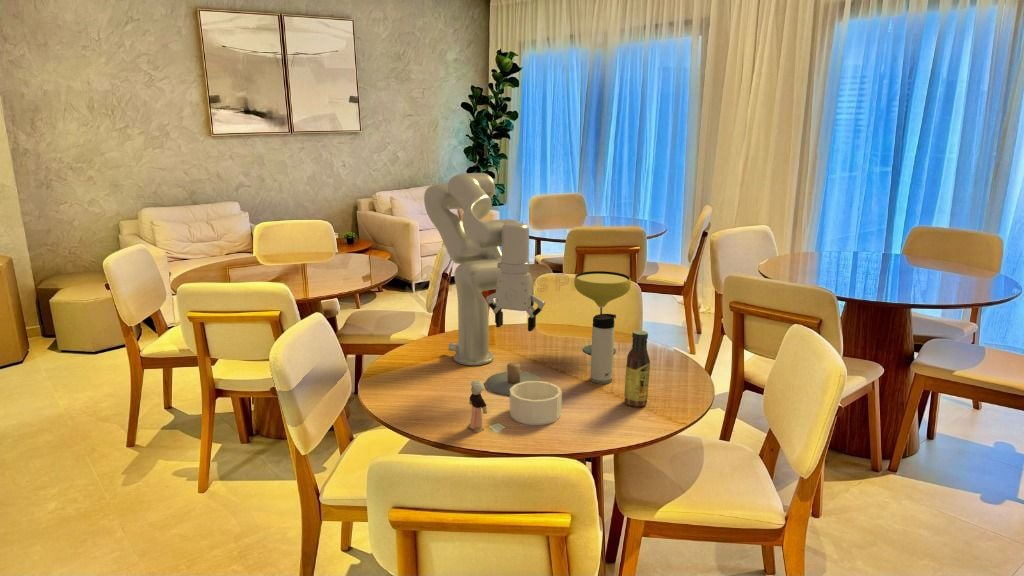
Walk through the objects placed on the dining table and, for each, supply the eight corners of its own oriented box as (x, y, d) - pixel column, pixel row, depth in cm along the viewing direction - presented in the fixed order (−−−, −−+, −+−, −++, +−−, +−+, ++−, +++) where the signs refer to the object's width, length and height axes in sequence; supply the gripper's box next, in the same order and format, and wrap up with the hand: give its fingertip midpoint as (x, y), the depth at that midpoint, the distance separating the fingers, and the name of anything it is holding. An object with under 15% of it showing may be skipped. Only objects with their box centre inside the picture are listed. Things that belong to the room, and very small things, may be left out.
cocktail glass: (594, 338, 233) (597, 268, 227) (637, 350, 220) (642, 277, 214) (561, 350, 220) (563, 276, 214) (605, 364, 208) (608, 286, 202)
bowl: (501, 419, 168) (502, 395, 167) (521, 400, 180) (522, 378, 178) (550, 429, 163) (550, 404, 162) (567, 409, 175) (568, 386, 173)
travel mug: (612, 385, 191) (615, 318, 186) (589, 383, 192) (592, 316, 188) (613, 377, 197) (616, 312, 192) (591, 375, 198) (593, 310, 194)
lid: (476, 391, 187) (476, 371, 185) (499, 372, 201) (499, 352, 200) (529, 400, 181) (529, 378, 179) (549, 379, 195) (549, 359, 194)
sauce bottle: (642, 409, 175) (646, 338, 170) (620, 404, 178) (623, 333, 173) (651, 401, 180) (655, 331, 175) (629, 396, 183) (633, 327, 179)
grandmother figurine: (460, 426, 164) (460, 378, 161) (472, 421, 167) (472, 374, 164) (481, 436, 159) (481, 387, 156) (493, 431, 162) (493, 383, 159)
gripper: (480, 268, 183) (481, 328, 186) (539, 273, 176) (539, 335, 180) (492, 263, 189) (493, 321, 193) (549, 268, 182) (548, 328, 186)
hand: (515, 328), depth 186 cm, fingers open, 9 cm apart
